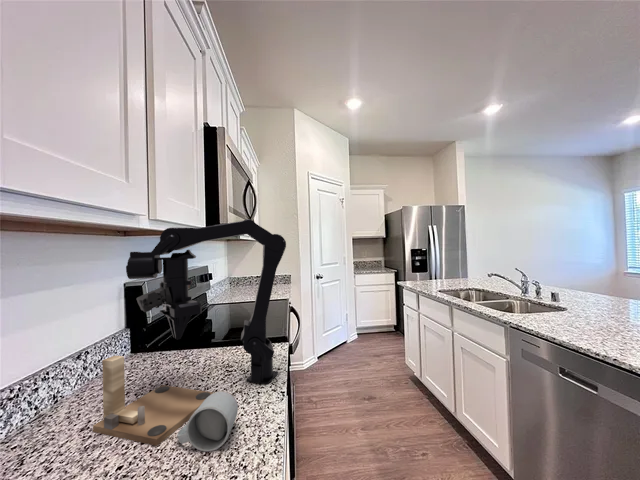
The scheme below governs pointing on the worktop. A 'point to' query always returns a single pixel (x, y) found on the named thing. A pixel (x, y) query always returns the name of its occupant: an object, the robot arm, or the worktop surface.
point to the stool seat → (155, 415)
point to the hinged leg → (115, 390)
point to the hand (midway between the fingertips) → (177, 338)
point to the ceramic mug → (210, 422)
